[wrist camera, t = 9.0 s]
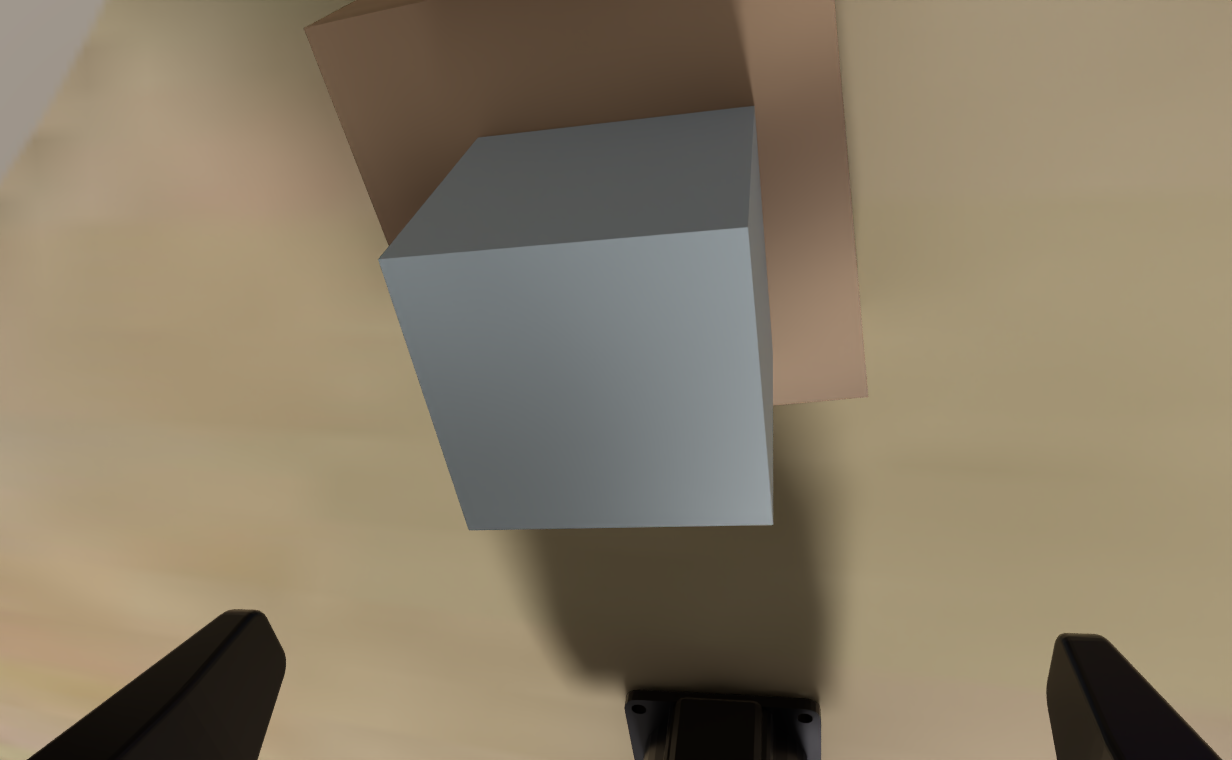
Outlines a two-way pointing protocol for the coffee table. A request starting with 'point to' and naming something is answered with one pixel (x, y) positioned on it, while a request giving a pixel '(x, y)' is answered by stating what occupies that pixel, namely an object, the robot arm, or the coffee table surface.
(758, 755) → the robot arm
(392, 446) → the coffee table surface
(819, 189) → the walnut block
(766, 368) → the slate cube
